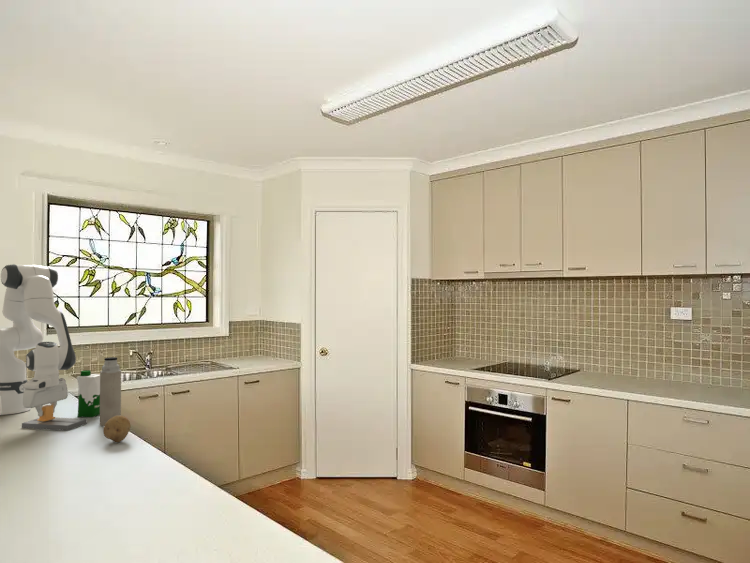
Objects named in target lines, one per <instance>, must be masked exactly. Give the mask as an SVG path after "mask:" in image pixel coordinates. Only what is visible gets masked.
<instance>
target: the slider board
mask: <svg viewBox="0 0 750 563" xmlns="http://www.w3.org/2000/svg"><path fill="white" fill-rule="evenodd" d="M54 417H55V419H52V420H48V421H37V419H39V417H37V418H35V419H31V420H29V421H28V420H27V421H24V422H21V429H29V428H34V429H33V430H47V429H50V430H49V431H67V432H68V431H70V430H73V429H75V428H78V426H79V427H82V426H84V425H86V424H87V423H88V422H87V421H88V419H87V418H78V417H77V418H76V417H75V418H74V417H73V418H72V417H56V416H54ZM81 425H82V426H81Z"/></svg>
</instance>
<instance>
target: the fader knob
mask: <svg viewBox="0 0 750 563" xmlns="http://www.w3.org/2000/svg"><path fill="white" fill-rule="evenodd" d="M42 411H44V416H38V418H39V419H37V418H36V419H37V421H48V420H52V419H55V417H56V416H54V413H53V405H51V404H45V405H43V408H42Z"/></svg>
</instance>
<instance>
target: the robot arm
mask: <svg viewBox="0 0 750 563" xmlns="http://www.w3.org/2000/svg"><path fill="white" fill-rule="evenodd" d="M58 281H59V275H58V271H57V270H56V268H54V267H52V266H48V265H45V266H44V265H37V264H15V263H13V264H6V265H5V266H4V267H2V268H1V273H0V282H1V284H2V285H3V286H4V287H6V289H5V293H4V297H3V305H2V315H3V316H4V318H5V319H7V320H9V321H11V322H12V323H13V324H12V327H0V416H4V415H12V414H19V413H25V412H28V411H30V410H31V409H34V408H35V410H36V412H37V416H38V417H39V416H44V411H42V408H43V406H45V405H53V414H54V413H55V411H56V410H55V409H56V406H57V405H58V402H60V401H63V400H66V399H67V398H68V396H69V394H68V393H69V392H68V385H67V381H66V379H65V378H63V377H61V378H60V371H68V370H70V369H71V368H72V367H74V366H75V364H76V362H77V355H76V352H75V350H74V347H73V344H72V340H71V336H70V333H69V332H70V331H69V328H68V324H67V321H66V320H67V319H66V317H65V315H64V313H63V312H62V311H60V310H58V308H57V307H56V304H55V296H54V289H53V288H55V286H56V285H57V284H58ZM34 321H36V322H39V323H44V324H46V325H49V326H51V327H53V328H54V330H55V332H56V336H57V339H58V343H59V344H57V342H54V341H53V342H52V341H44V333H43V331H42V330H41V329H40V328H39V327H38V326H36V325H35V322H34ZM25 350H26V351H27V350H30V351H28V353H26V354H25V359H26V360H25V361H24V360H23V359H21V358H18V357H17V356H16V355H15V351H16V352H17V351H25ZM27 369H28V370H29V371H31V372H34V374H33V377H32V378H31V379H30V380H28V379H27Z"/></svg>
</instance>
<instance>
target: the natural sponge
mask: <svg viewBox="0 0 750 563" xmlns="http://www.w3.org/2000/svg"><path fill="white" fill-rule="evenodd" d="M131 425H132V424H131V422H130V420H129V418H127V417H126V416H124V415H121V416H114V417H112V418H111V419H109V420H108V421H107V422H106V424H105V426H103V436H104V437H105V438H107V439H108V440H112V442H114V443H117V444H118V443H121V442H122V441H124V440H125V438H127V436H128V435H129V433H130V430H131Z"/></svg>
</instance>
